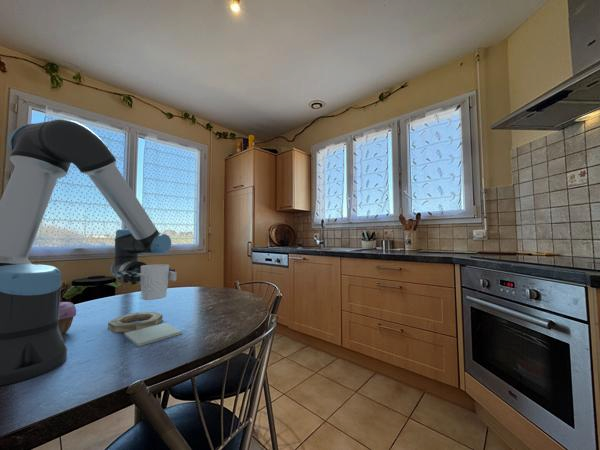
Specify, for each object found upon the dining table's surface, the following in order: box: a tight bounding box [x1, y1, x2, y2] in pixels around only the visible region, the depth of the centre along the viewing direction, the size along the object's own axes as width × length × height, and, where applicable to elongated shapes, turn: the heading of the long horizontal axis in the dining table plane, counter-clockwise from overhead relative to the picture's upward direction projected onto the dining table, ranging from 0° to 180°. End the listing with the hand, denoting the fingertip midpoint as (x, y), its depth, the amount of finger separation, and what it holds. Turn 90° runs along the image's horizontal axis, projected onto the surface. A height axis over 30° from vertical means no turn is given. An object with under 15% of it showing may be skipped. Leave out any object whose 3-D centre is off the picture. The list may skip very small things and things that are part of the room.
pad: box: [123, 322, 182, 348], centre depth 77 cm, size 12×12×1 cm
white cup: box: [140, 263, 170, 301], centre depth 78 cm, size 8×8×10 cm
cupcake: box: [59, 301, 77, 335], centre depth 77 cm, size 9×9×10 cm
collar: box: [107, 311, 163, 333], centre depth 87 cm, size 15×15×2 cm
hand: (161, 278), depth 75 cm, fingers closed on white cup, 8 cm apart
